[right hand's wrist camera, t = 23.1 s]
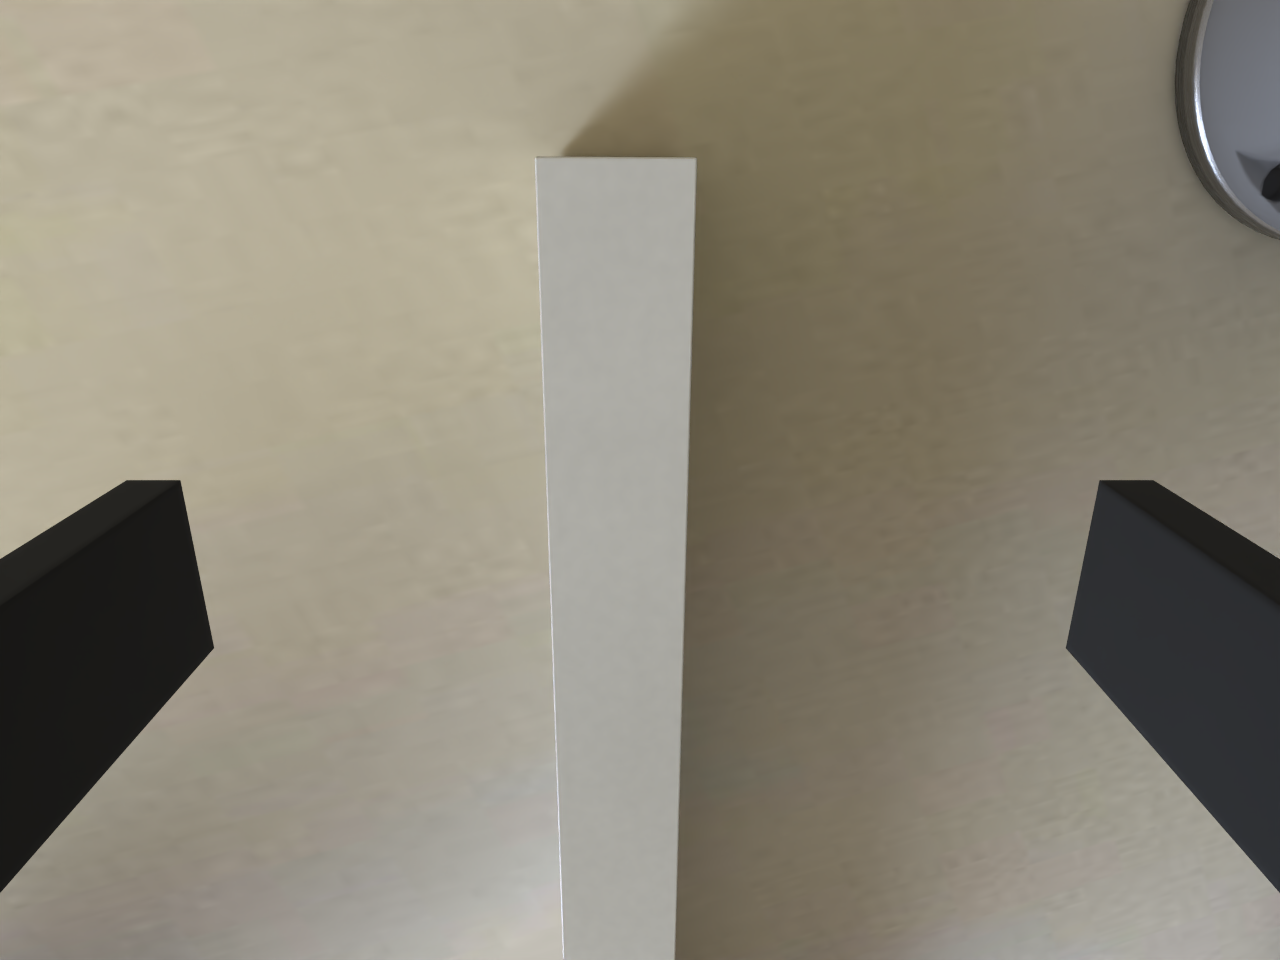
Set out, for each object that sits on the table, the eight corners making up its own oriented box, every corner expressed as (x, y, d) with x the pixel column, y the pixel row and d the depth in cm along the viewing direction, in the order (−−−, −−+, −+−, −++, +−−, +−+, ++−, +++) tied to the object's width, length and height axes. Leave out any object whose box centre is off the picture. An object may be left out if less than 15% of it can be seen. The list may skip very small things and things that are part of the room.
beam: (554, 156, 34) (534, 156, 26) (681, 157, 34) (697, 157, 26) (581, 1118, 54) (574, 1273, 46) (660, 1117, 54) (666, 1272, 46)
